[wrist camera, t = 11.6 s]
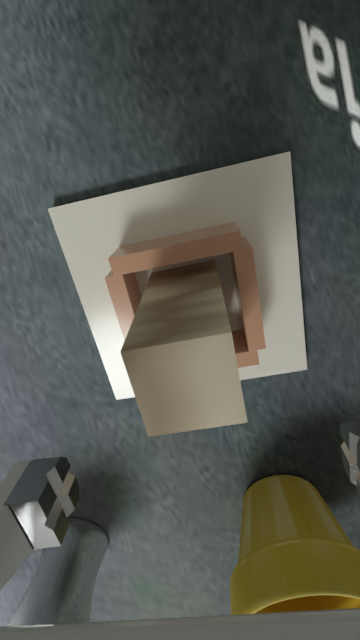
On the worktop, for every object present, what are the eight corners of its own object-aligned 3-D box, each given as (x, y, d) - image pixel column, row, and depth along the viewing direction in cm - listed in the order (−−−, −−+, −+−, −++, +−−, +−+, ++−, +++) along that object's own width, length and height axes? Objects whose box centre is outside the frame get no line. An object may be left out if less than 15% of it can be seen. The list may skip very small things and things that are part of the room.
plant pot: (298, 549, 33) (337, 691, 24) (203, 517, 32) (206, 654, 23) (364, 482, 29) (440, 621, 20) (258, 441, 28) (288, 572, 19)
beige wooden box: (214, 259, 21) (231, 332, 12) (225, 318, 22) (247, 422, 13) (151, 272, 21) (120, 352, 12) (166, 328, 23) (148, 436, 14)
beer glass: (61, 503, 32) (-40, 761, 18) (125, 533, 33) (77, 792, 19) (31, 542, 34) (-77, 793, 20) (92, 568, 35) (29, 819, 22)
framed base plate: (286, 152, 19) (307, 148, 15) (303, 363, 24) (322, 395, 21) (52, 207, 21) (24, 215, 17) (118, 393, 26) (107, 427, 23)
